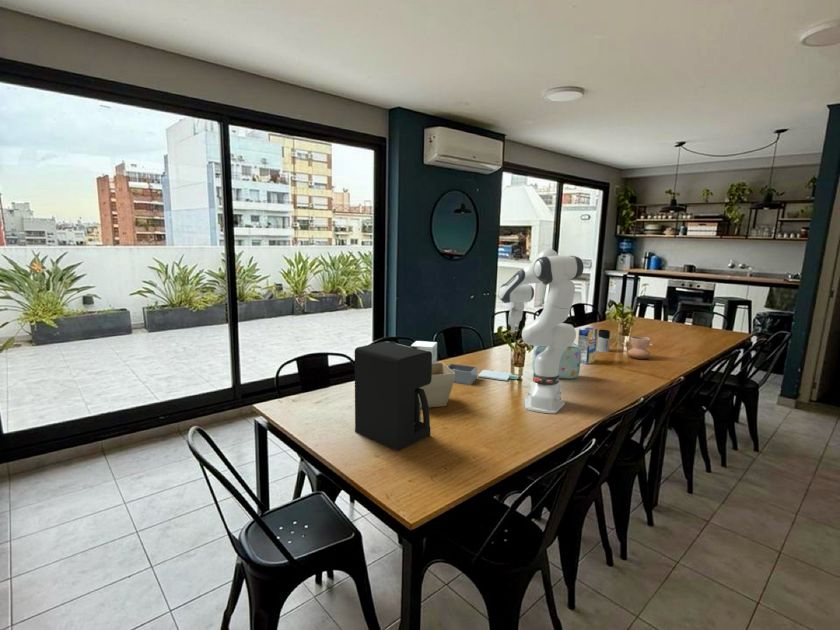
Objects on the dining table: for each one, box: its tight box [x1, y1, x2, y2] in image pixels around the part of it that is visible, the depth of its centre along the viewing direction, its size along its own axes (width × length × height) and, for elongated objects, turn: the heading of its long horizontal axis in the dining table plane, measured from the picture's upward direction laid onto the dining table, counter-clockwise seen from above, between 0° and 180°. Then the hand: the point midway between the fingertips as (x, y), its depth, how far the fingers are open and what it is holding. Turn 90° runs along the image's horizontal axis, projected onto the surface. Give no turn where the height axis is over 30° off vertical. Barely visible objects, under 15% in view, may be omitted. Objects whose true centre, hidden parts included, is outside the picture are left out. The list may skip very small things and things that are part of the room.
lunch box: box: [532, 342, 581, 380], centre depth 255 cm, size 27×10×21 cm, turn 84°
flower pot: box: [418, 362, 455, 409], centre depth 210 cm, size 19×19×17 cm
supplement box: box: [410, 340, 438, 363], centre depth 259 cm, size 13×13×18 cm
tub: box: [446, 363, 478, 386], centre depth 247 cm, size 12×16×7 cm
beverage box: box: [577, 326, 598, 365], centre depth 288 cm, size 7×11×22 cm, turn 131°
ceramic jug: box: [625, 335, 653, 360], centre depth 303 cm, size 18×14×14 cm
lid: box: [477, 369, 519, 382], centre depth 254 cm, size 13×22×2 cm, turn 66°
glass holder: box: [596, 329, 618, 353], centre depth 319 cm, size 9×14×15 cm, turn 40°
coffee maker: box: [353, 341, 432, 452], centre depth 172 cm, size 28×20×35 cm
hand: (514, 330), depth 246 cm, fingers open, 8 cm apart
